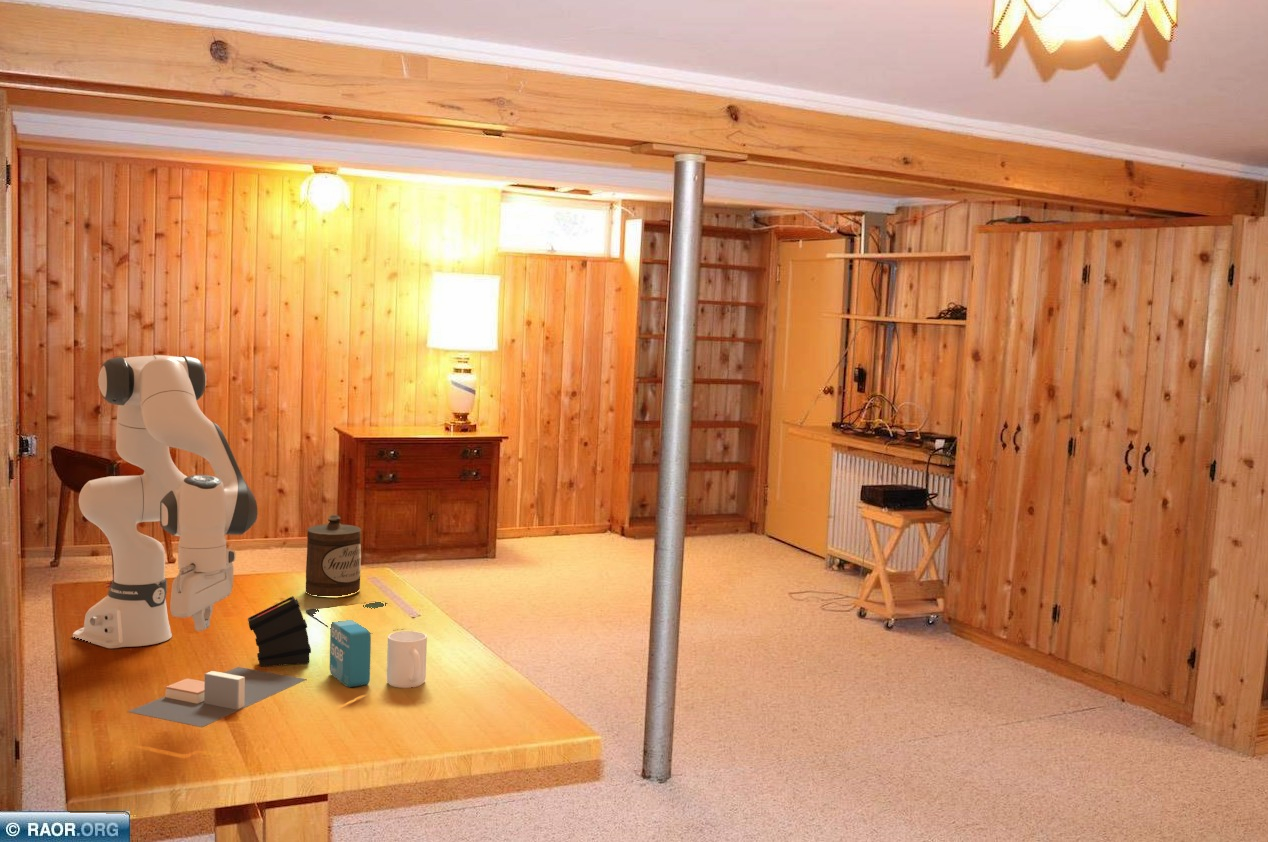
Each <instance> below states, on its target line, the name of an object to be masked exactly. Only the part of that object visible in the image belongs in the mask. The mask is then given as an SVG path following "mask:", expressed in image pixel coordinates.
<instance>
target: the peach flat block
mask: <svg viewBox="0 0 1268 842" xmlns="http://www.w3.org/2000/svg"><path fill="white" fill-rule="evenodd" d="M204 690H205V682H204V680H198V679H192V678H184V679H181V680H179V681H176V682H173V683H171V684H170V685H167V686H165V696H166V697H167V698H172V699H177V700H182V701H187V702H192V703H197V704H198V703H200V702H203V701H204Z"/></svg>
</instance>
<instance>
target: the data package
mask: <svg viewBox="0 0 1268 842" xmlns="http://www.w3.org/2000/svg"><path fill="white" fill-rule="evenodd" d="M329 630H330V633H329V634H330V639H329V673H330V674H332V675H333V678H335V679H336V678H337V679H336V680H338V681H339V682H340V683H341V684H343V685H344V686H345V685H346V688H355V687H360V686H366V685H367V686H368V685H369V684H370V680H371V654H372V653H371V652H372V651H371V650H372V649H371V648H372V646H371V645H372V636H371V633H370V632H369V631H368V630H367V629H366V628H364V627H362V626H361V625H359V624H358V623H356V622H354V621H353V620H346V621H338V622H332V624H331V628H330V629H329ZM332 675H331V676H332Z"/></svg>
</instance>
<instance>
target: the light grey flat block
mask: <svg viewBox="0 0 1268 842" xmlns="http://www.w3.org/2000/svg"><path fill="white" fill-rule="evenodd" d="M204 680H205V690H204V703H206V704H211V705H216V706H221V707H226V708H231V709H236V710H237V709H240V708H242V707H244V705H245V677H242V676H237V675H232V674H226V673H224V672H220V671H214V670H211V671H209V672H206V673H204Z"/></svg>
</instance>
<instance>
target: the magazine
mask: <svg viewBox="0 0 1268 842" xmlns="http://www.w3.org/2000/svg"><path fill="white" fill-rule="evenodd" d="M247 622H248V626H249V627H248V628H249V630H250V631H252V632H253V633H254V636H255V637H256V638H255V640H254V641H255V644H256V646H257V647H258V653H256V654H257V655H256V656H257V662H258V663H259V667H263V666H264V667H276V666H290V665H305V664H307V665H308V664H310V654H311V653H312V647H311V645H310V642H309V641H310V640H309V635H308V630H307V628H308V625H307V621H306V618H304V617H303V612H302V611H301V609H300V604H299V600H298V599H297V598H296V599H295V596H294V595H292V596H290V597H287V598H286V599H284V600H282V601H280V602H277V603H276V604H274V605H272V606H269V607H268V608H265V609H264V610H262V611H260V612H258V613H256V614H254V615H252V616H249V617H248V618H247Z"/></svg>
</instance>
